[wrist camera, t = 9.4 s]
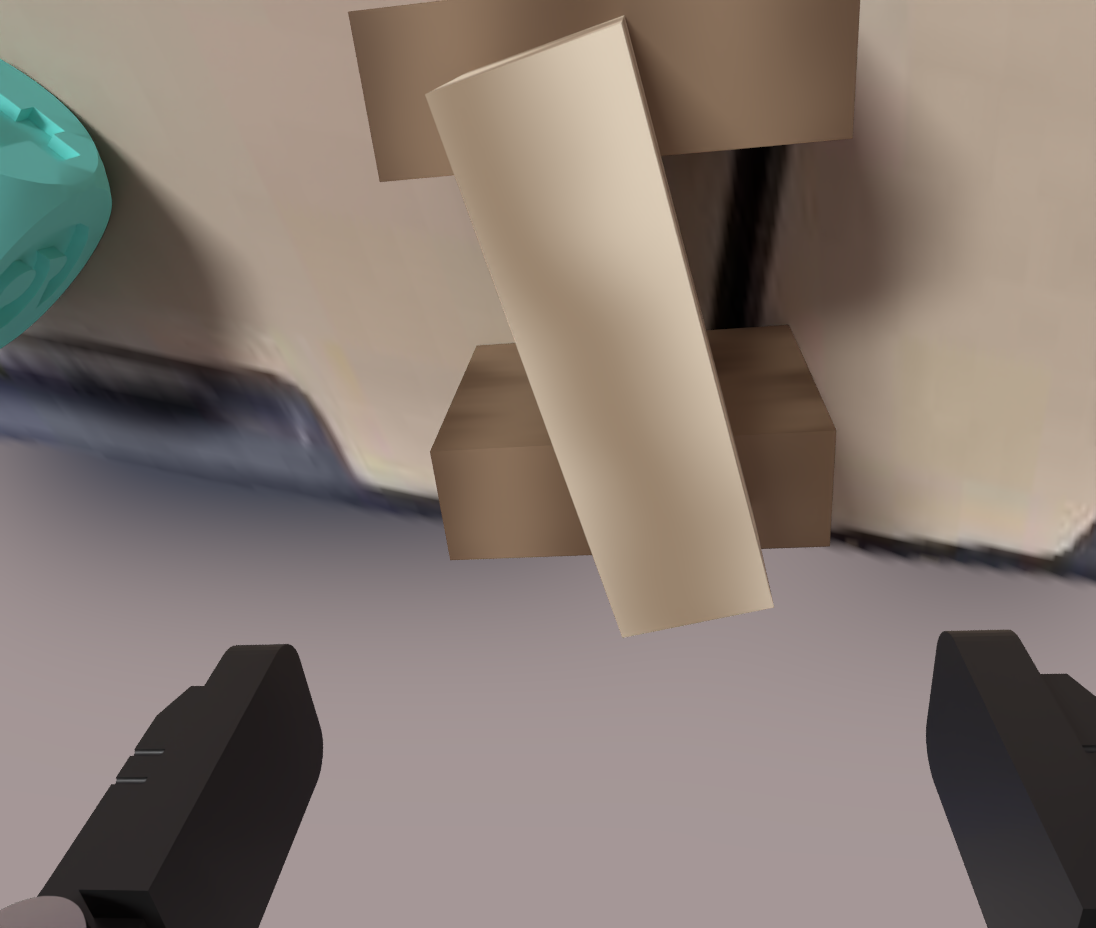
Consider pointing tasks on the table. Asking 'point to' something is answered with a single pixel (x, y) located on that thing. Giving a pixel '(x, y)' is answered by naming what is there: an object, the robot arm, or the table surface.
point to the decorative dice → (43, 200)
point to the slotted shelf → (680, 128)
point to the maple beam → (607, 322)
